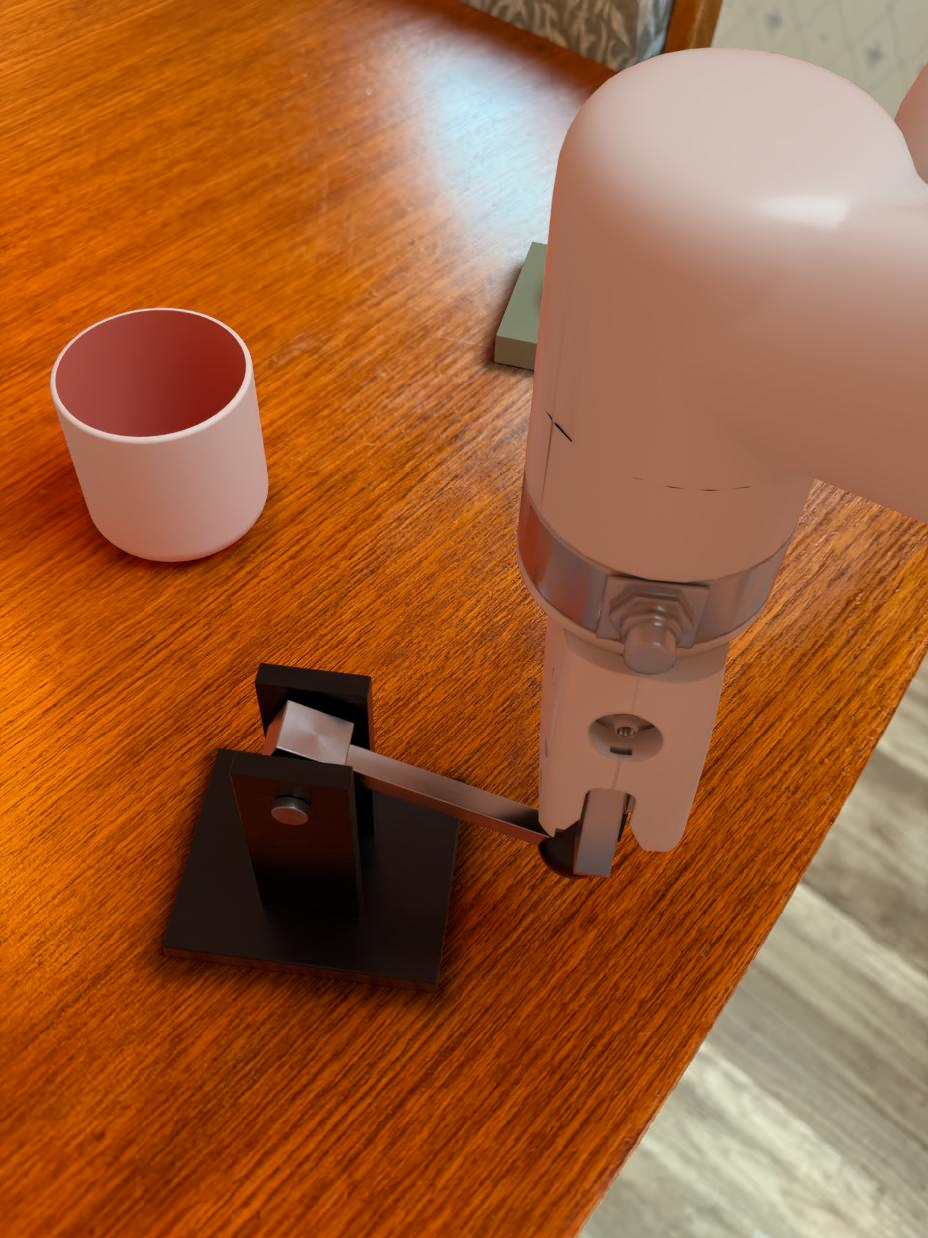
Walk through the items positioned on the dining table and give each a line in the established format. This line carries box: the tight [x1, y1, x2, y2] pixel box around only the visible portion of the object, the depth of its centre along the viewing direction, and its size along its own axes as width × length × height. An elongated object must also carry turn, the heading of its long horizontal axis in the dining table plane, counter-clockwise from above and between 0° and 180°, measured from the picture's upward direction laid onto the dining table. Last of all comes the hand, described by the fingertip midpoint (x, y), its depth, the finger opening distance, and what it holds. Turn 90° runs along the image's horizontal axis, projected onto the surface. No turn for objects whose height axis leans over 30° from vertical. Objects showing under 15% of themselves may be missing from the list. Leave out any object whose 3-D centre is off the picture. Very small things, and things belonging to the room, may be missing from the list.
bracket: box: [161, 662, 467, 993], centre depth 50 cm, size 12×10×13 cm
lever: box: [261, 700, 592, 880], centre depth 48 cm, size 15×3×3 cm, turn 83°
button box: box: [493, 241, 547, 371], centre depth 77 cm, size 12×10×4 cm
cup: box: [49, 307, 269, 563], centre depth 64 cm, size 10×10×10 cm
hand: (580, 821), depth 48 cm, fingers closed
